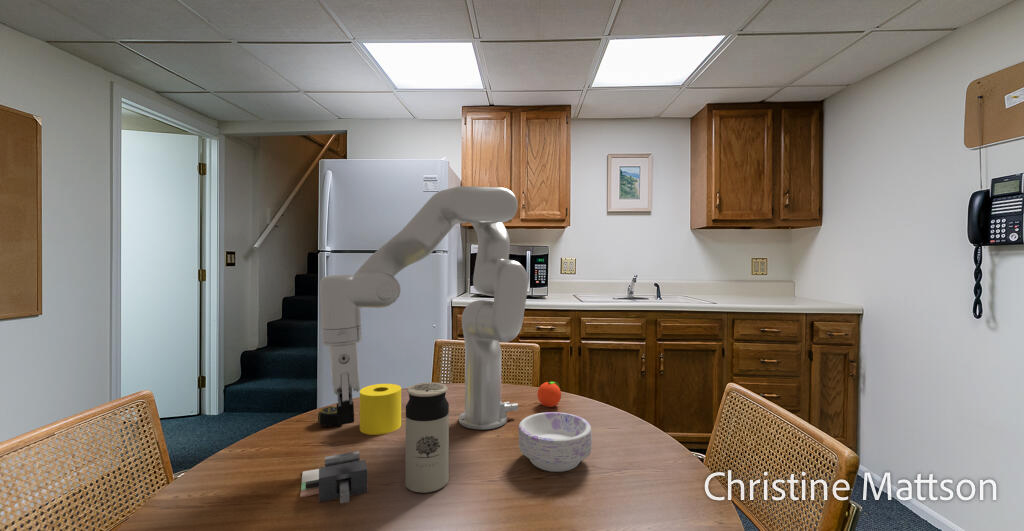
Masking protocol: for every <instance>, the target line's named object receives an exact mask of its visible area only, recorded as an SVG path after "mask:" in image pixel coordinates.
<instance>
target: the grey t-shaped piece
mask: <svg viewBox="0 0 1024 531" xmlns="http://www.w3.org/2000/svg"><path fill="white" fill-rule="evenodd" d="M360 453H361V452H360V450H357V451H351V452H345V453H340V454H339V453H338V454H334V455H333V454H332V455H327V456H324V467H327V466H333V465H338V464H344V463H349V462H355V461H361V460H360V455H361V454H360ZM348 480H350V478H345V479H340V480H336V483H337V482H339V492H340V498H339V502H340V504H345V503H349V502H350V496H349V486H348ZM318 486H319V480H314V481H308V482H306V489H308V488H313V487H318Z"/></svg>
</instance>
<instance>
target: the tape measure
mask: <svg viewBox="0 0 1024 531" xmlns="http://www.w3.org/2000/svg"><path fill="white" fill-rule="evenodd" d="M317 423H319V425H320V426H323V427H333V426H339V425H338V423H337V405H335V406H327V407H323V408H322V409H320V410H319V411H318V413H317Z"/></svg>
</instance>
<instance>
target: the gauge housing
mask: <svg viewBox="0 0 1024 531" xmlns="http://www.w3.org/2000/svg"><path fill="white" fill-rule="evenodd" d="M318 469H319V494H318V503H323V502H329V501H332V500H337V499H340V492H339V482H337V483H336V480H340V479H345V478H350V480H348V486H349V497H353V496H356V495H361V494H365V493H366V494H367V493H368V471H369V470H368V466H367V460H366V459H362V460H360V461H355V462H349V463H344V464H338V465H333V466H327V467H325V466H323V467H319V468H318Z"/></svg>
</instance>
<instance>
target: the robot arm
mask: <svg viewBox="0 0 1024 531" xmlns="http://www.w3.org/2000/svg"><path fill="white" fill-rule="evenodd" d="M518 206H519V203H518V199H517V196H516V195H515V194H514V192H512V190H510V189H508V188H505V187H501V186H499V187H497V186H496V187H495V186H469V185H468V186H466V185H463V186H460V185H459V186H455V187H451V188H447V189H442V190H439V191H437V192H435V194H433V195H432V196H431V197H430V198H429V200H427V202H425V204H423V206H422V207H421V208H420V209H419V210H418V212H417V213H416V214H415V215H414V216H413V217H412V218H411V219H410V220H409V221H408V223H407V224H406V225H404V227H403V228H402V229H401V230H400V231H399V232H398V233H396V234H395V235H394V236H392V237H391V238H390V239H389V240H388V241H387V242H385V243H384V244H383V245H382V246H381V247H379V248H378V249H377V250H376V251H375V252H374V253H372V255H371V256H370V257H368V258H367V260H366V261H365V262H364V263H363V264H362V265H361V266H360V267H359V268H358V270H357V271H356V272H355V273H354V274H335V275H327V276H323V277H322V278H321V279H320V281H319V297H320V302H319V303H320V317H321V319H320V322H321V341H322V342H321V343H322V346H326V347H328V352H329V364H330V365H329V367H330V368H329V369H330V378H331V383H332V387H333V393H334V394H335V395H336V396H337V403H336V406H337V423H338V425H337V426H341V425H342V426H343V425H347V424H352V423H354V422H355V407H354V400H353V392H354V391H356V393H358V392H360V390H361V386H360V373H359V372H360V371H359V367H360V366H359V354H358V352H359V351H358V345H357V343H360V342H362V317H361V309H362V308H368V309H369V308H370V309H371V308H373V309H374V308H375V309H377V308H378V309H380V308H382V309H383V308H388V307H389V306H391V305H393V304H394V303H396V301H397V300H398V299H399V297H400V296H401V285H400V283H399V281H398V279H397V278H395V276H396V275H398V274H399V273H400V272H401V271H402V270H404V269H405V268H407V267H409V266H410V265H412V264H415V263H417V262H420V261H421V260H423V259H425V258H427V257H428V256H430V255H431V254H432V253H433V252H434V251H435V250H436V249H437V247H438V246H439V244H440V243H441V242H443V240H444V239H445V238H446V236H447V235H448V234H449V233H450V231H451V230H452V229H453V228H454V226H456V225H458V224H465V223H466V224H467V223H470V225H472V227H473V229H474V230H475V234H476V235H477V253H476V258H475V265H474V271H473V277H472V281H473V282H472V284H473V287H474V289H475V290H476V292H477V293H479V294H481V295H485V296H488V297H489V296H490V297H493V298H494V300H492V301H491V300H485V299H482V300H479V299H478V300H475V301H472V302H470V303H469V304H468V305H466V306H465V308H464V309H463V312H462V315H461V327H462V332H463V334H462V335H463V339H464V362H465V363H464V364H465V365H464V412H462V413H460V414H459V416H458V423H459V424H460V425H461V426H463V427H464V428H468V429H472V430H479V431H480V430H481V431H482V430H493V429H496V428H500V427H502V426H503V425H505V424H506V423H507V421H508V417H507V416H508V415H507V414H508V412H514V411H515V412H516V411H519V403H517V402H513V403H512V402H511V403H510V401H502V348H501V344H500V342H501V343H504V342H505V343H507V342H511V341H513V340H515V339H516V338H517V337H518V335H519V334H520V332H521V329H522V327H523V322H524V316H525V308H526V304H527V296H528V295H527V294H528V286H529V278H528V273H527V271H526V269H525V267H524V266H523V265H522V264H521V263H520V262H519V261H516V260H513V259H510V248H511V247H510V246H511V244H510V243H511V239H510V236H509V233H508V230H507V228H506V227H505V225H504V223H507V222H509V221H510V220H512V219H513V218H514V217H515V216H516V214H517V211H518V208H519V207H518Z"/></svg>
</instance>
